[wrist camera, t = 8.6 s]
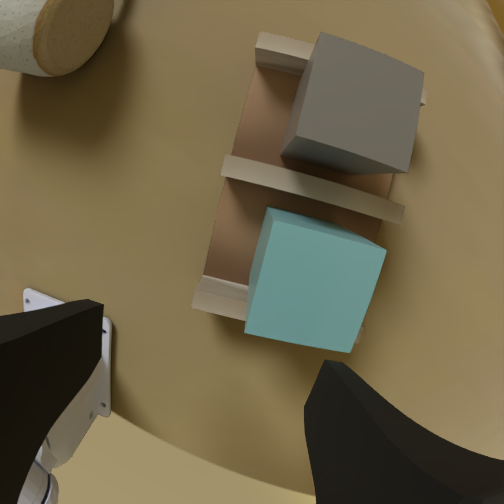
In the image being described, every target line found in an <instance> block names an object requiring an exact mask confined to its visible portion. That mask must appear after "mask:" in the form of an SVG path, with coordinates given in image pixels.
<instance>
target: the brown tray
mask: <svg viewBox="0 0 504 504" xmlns="http://www.w3.org/2000/svg"><path fill="white" fill-rule="evenodd" d="M314 46H315V44H311V43H308V42H304V41H300V40H297V39H293V38H289V37H284V36H280V35H276V34H271V33H266V32H261V31H260V34H259V37H258V40H257V43H256V47H255V55H256V66H255V69H254V73H253V76H252V80H251V83H250V87H249V90H248V94H247V98H246V101H245V105H244V108H243V112H242V116H241V120H240V123H239V127H238V131H237V135H236V138H235V142H234V146H233V150H232V154H231V155H228V154H225V158H224V162H223V166H222V170H221V174H220V175H222V176H226V178H225V182H224V186H223V190H222V194H221V198H220V203H219V207H218V211H217V215H216V220H215V224H214V228H213V233H212V237H211V242H210V246H209V251H208V255H207V260H206V264H205V269H204V274H203V276H202V278H201V280H200V281H199V283H198V285H197V287H196V288H195V291H194V296H193V301H192V306H191V308H195V309H198V310H202V311H206V312H210V313H214V314H218V315H222V316H226V317H230V318H234V319H239V320H243V321H245V319H246V308H247V297H248V286H249V275H250V271H251V267H252V263H253V259H254V255H255V251H256V247H257V243H258V239H259V235H260V231H261V227H262V223H263V219H264V215H265V211H266V207H267V205H269V206H273V207H277V208H281V209H285V210H289V211H293V212H296V213H300V214H304V215H308V216H312V217H315V218H319V219H323V220H326V221H330V222H334V223H337V224H339V225H341V226H343V227H345V228H347V229H349V230H351V231H353V232H354V233H356V234H358V235H360V236H362V237H364V238H366V239H367V240H369V241H371V242H373V243H375V240H376V237H377V233H378V230H379V226H380V223H381V219H382V220H385V221H388V222H392V223H395V224H398V225H400V223H401V219H402V215H403V212H404V208H405V206H404V205H401V204H398V203H395V202H392V201H390V200H387V196H388V192H389V188H390V184H391V180H392V176H393V173H391V174H371V175H354V176H349V175H346V174H343V173H340V172H337V171H333V170H330V169H327V168H324V167H320V166H317V165H313V164H310V163H306V162H303V161H299V160H296V159H292V158H288V157H284V156H281V155H280V153H281V149H282V145H283V141H284V137H285V133H286V129H287V125H288V121H289V117H290V113H291V109H292V105H293V101H294V97H295V93H296V89H297V86H298V84H299V82H300V79H301V77H302V75H303V72H304V70H305V67H306V65H307V63H308V60H309V58H310V56H311V53H312V51H313V49H314ZM426 96H427V88H426V87H424V86H423V89H422V96H421V103H420V106H423V105H425V103H426ZM364 329H365V327H364V325H363V324H361V327H360V329H359V332H358V334H357V337H356V339H355V342H354V343H356V344H359V341H360V339H361V336H362V334H363V331H364Z"/></svg>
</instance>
